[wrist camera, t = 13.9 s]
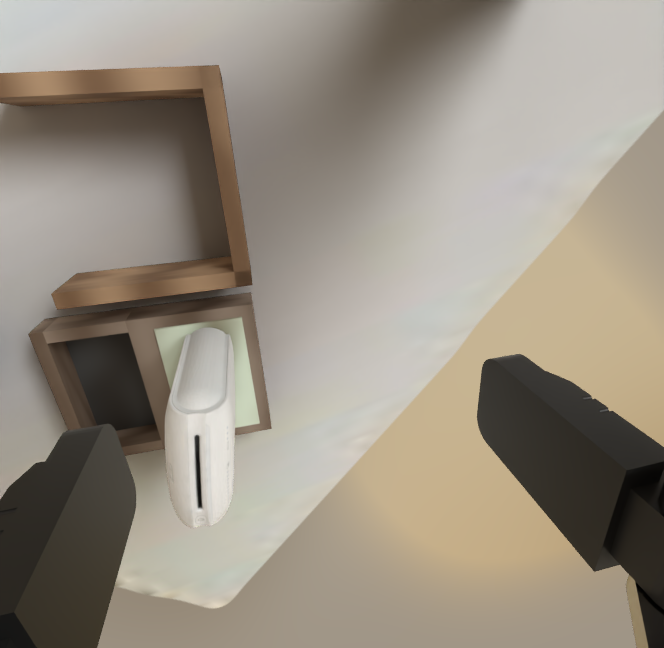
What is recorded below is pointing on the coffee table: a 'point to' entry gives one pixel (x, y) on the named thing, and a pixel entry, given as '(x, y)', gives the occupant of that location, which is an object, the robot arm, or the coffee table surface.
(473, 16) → the coffee table surface
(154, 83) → the wooden cubby shelf
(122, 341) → the two-compartment wooden organizer
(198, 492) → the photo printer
